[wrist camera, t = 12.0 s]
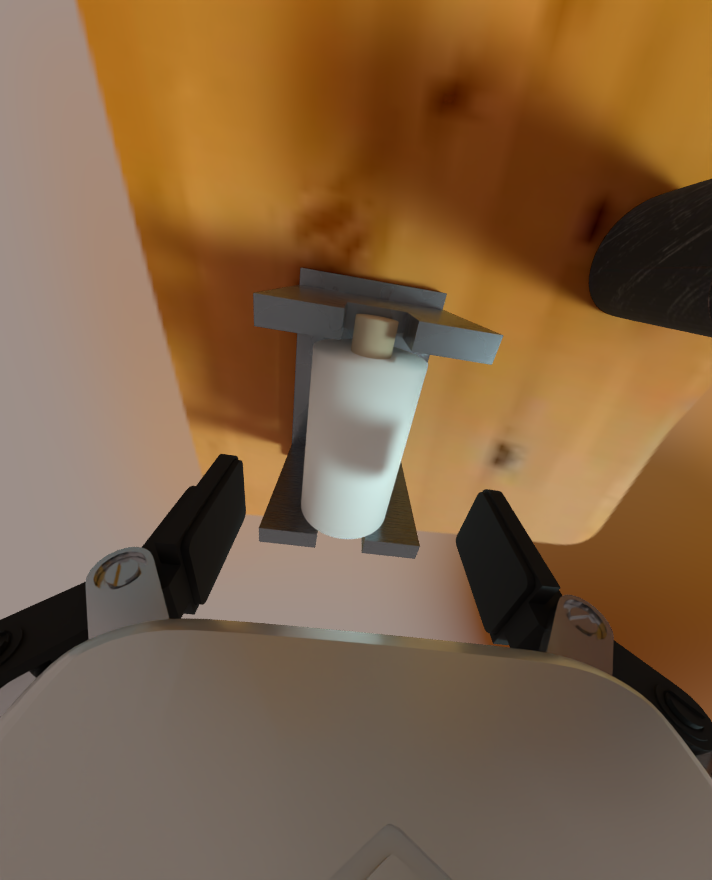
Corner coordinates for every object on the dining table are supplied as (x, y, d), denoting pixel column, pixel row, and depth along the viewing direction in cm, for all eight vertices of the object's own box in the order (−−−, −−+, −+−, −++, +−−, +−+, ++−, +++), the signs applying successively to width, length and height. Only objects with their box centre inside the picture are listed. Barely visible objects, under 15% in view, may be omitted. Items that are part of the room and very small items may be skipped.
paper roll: (324, 302, 15) (305, 315, 11) (425, 320, 16) (452, 340, 11) (307, 489, 22) (291, 550, 17) (378, 499, 22) (383, 562, 17)
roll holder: (303, 267, 20) (252, 262, 10) (442, 292, 21) (513, 308, 11) (293, 457, 28) (259, 551, 18) (393, 470, 29) (411, 568, 19)
